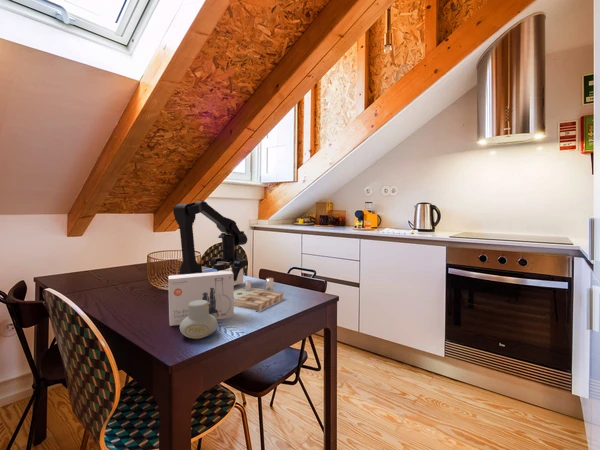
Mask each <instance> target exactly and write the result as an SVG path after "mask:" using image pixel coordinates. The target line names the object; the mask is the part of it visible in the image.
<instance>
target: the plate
mask: <svg viewBox="0 0 600 450" xmlns="http://www.w3.org/2000/svg"><path fill="white" fill-rule="evenodd" d="M258 290H266V288H265V289H264V288H258V287H252V280H251V279H247V280H245V286H243V287H241V288H238V289H234V298H235V299H238V298H240V297H243V296H245V295H248V294H250V293H253V292H255V291H258Z"/></svg>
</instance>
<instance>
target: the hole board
mask: <svg viewBox="0 0 600 450" xmlns="http://www.w3.org/2000/svg"><path fill="white" fill-rule="evenodd" d="M284 296H285V293H283V292H279V291H278V292H277V291H273V292H272V291H266V289H265V290H258V291H255V292H253V293H250V294H248V295H245V296H243V297H240V298H235V299H234V307H237V308H243V309H247V310H252V311H255V313H259V312H260V311H263V310H265V309H267V308H268V307H270V306H273V305H274V304H277V303H279V302H281V301H283V300H284Z"/></svg>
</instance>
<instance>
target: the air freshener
mask: <svg viewBox="0 0 600 450" xmlns="http://www.w3.org/2000/svg"><path fill="white" fill-rule="evenodd" d="M218 326H219V324H218V319H216V318H215V317H214V316H212V315H210V314H209V303H208V301H206V300H196V301H192V302H190V303H189V304H188V317H186V318H185V319H184V320H183V321H182V322H181V324H180V325H179V330H180V333H181V334H182V335H183V336H185V337H186V338H189V339H193V340H200V339H203V338H206V337H208V336H210V335H212V334H213V333H214V332H215V331H216V330H217V328H218Z"/></svg>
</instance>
